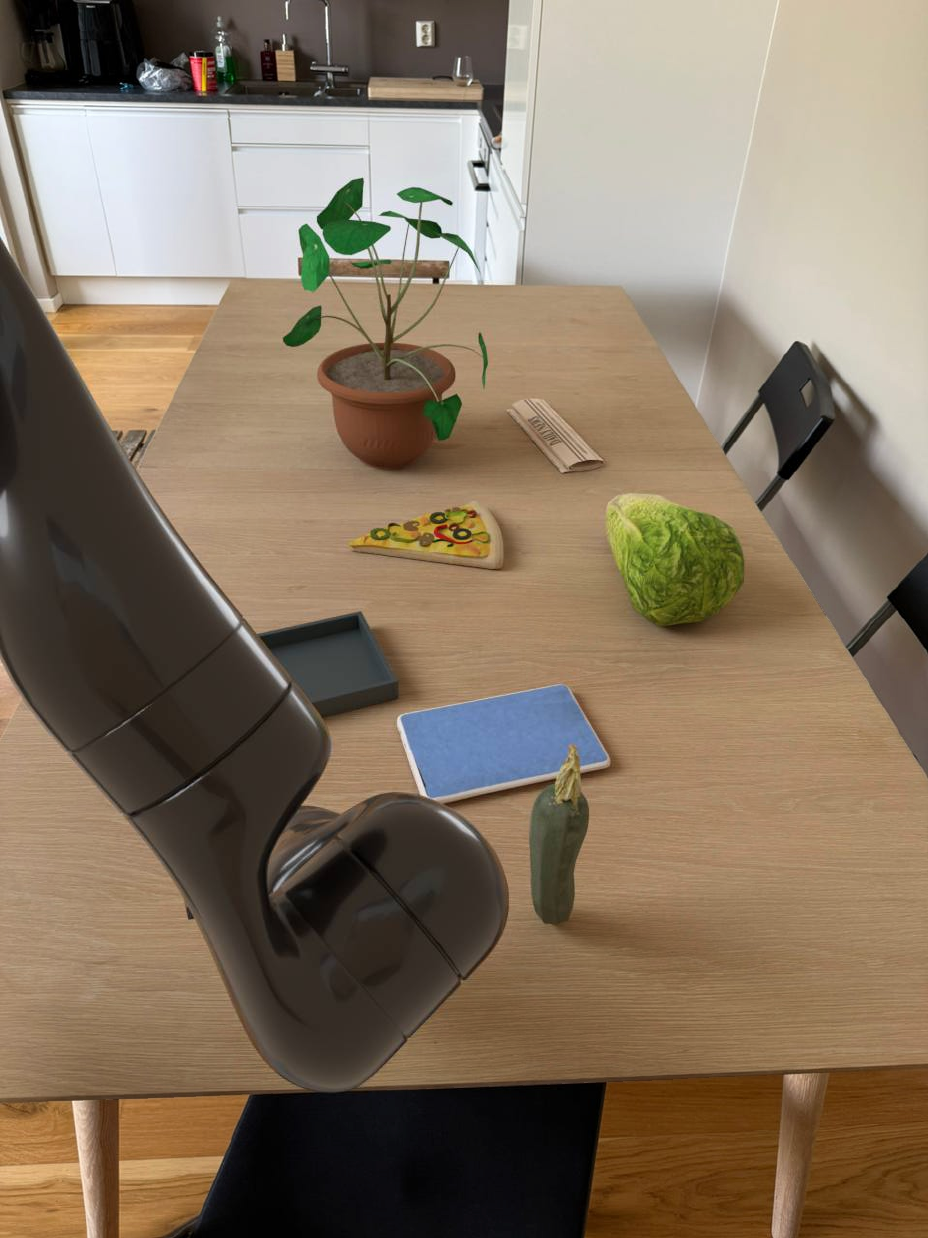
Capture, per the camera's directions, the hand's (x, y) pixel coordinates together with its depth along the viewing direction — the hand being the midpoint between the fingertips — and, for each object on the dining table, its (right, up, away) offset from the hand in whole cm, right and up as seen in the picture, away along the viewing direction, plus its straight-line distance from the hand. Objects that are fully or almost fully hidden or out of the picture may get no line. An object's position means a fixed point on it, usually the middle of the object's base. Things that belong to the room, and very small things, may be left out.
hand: (280, 851), depth 64 cm
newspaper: (+28, +47, +83) cm, 99 cm away
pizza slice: (+8, +27, +57) cm, 63 cm away
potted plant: (+2, +45, +80) cm, 91 cm away
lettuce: (+38, +22, +52) cm, 68 cm away
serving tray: (-4, +10, +34) cm, 36 cm away
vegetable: (+20, -9, +11) cm, 25 cm away
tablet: (+17, +4, +27) cm, 32 cm away
